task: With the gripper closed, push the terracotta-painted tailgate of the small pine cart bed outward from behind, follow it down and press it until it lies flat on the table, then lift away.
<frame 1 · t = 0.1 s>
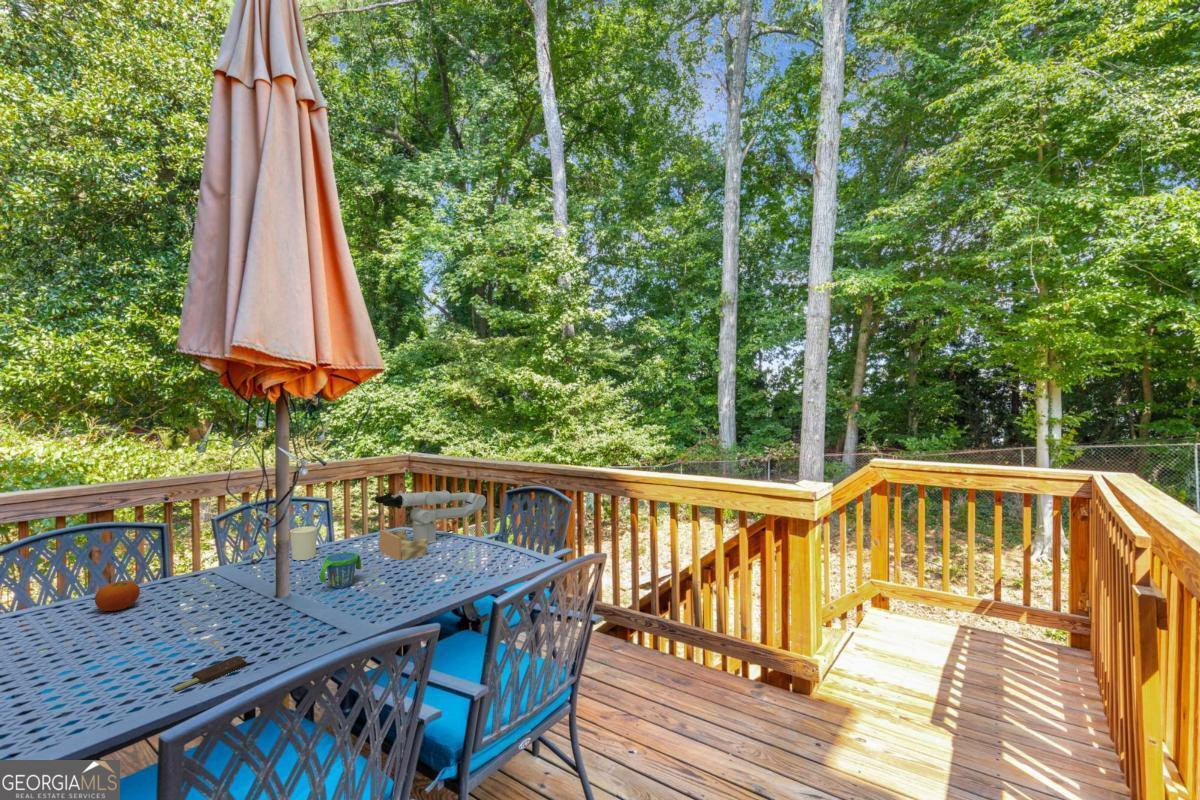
hand: (379, 501, 225), 22 cm above the table, tool horizontal, fingers open, 7 cm apart
cart bed: (404, 552, 224), on the table
snack cup: (341, 585, 186), on the table
candle holder: (303, 558, 215), on the table
fruit: (117, 609, 164), on the table
tailgate: (390, 544, 220), point 5 cm above the table, hinge at 0.0°
ice cream bar: (210, 678, 126), on the table
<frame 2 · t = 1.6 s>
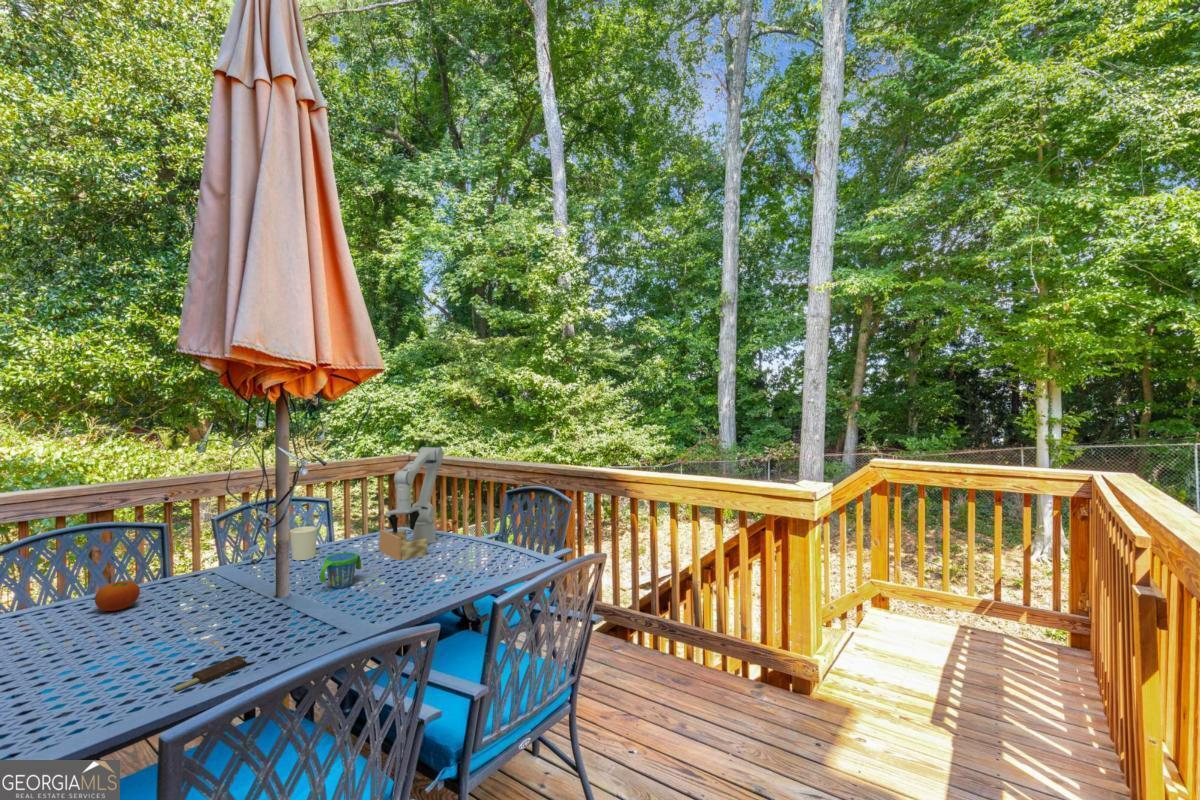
hand: (403, 530, 224), 9 cm above the table, tool pointing down, fingers open, 7 cm apart
nothing on the table moved.
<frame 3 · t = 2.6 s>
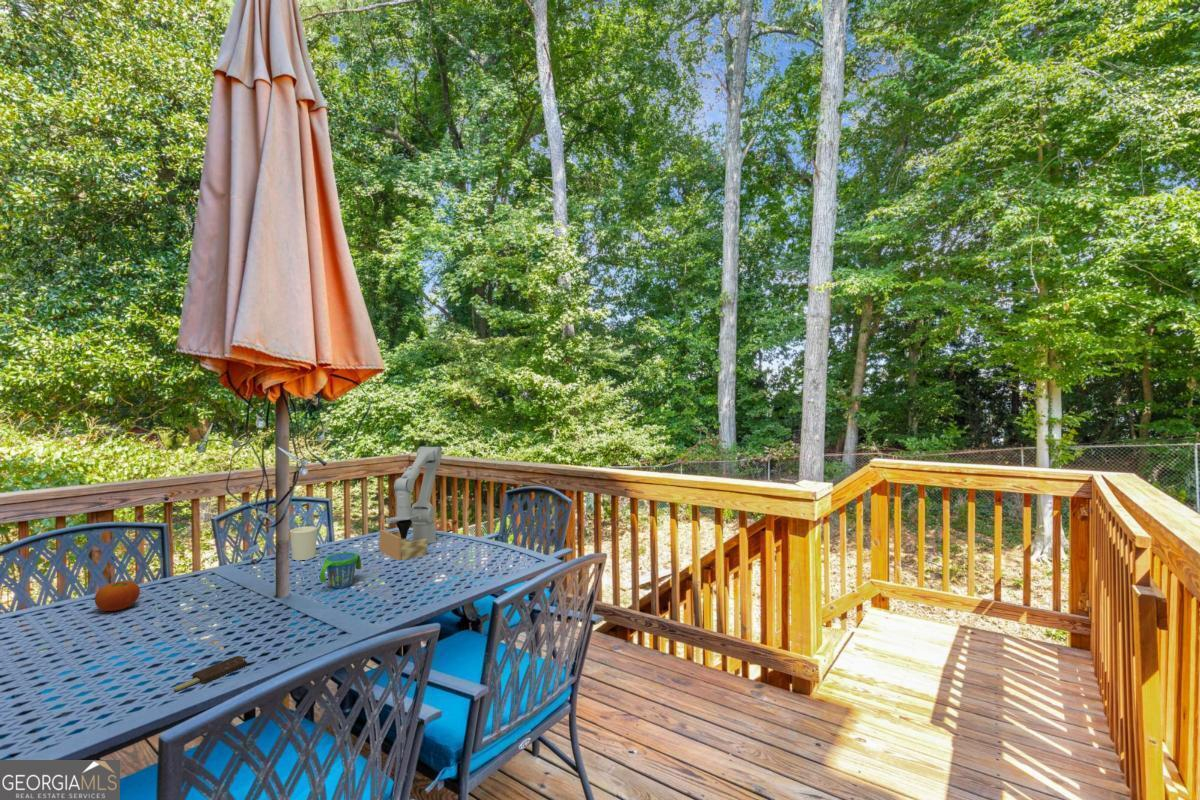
hand: (403, 538, 224), 6 cm above the table, tool pointing down, fingers closed
nothing on the table moved.
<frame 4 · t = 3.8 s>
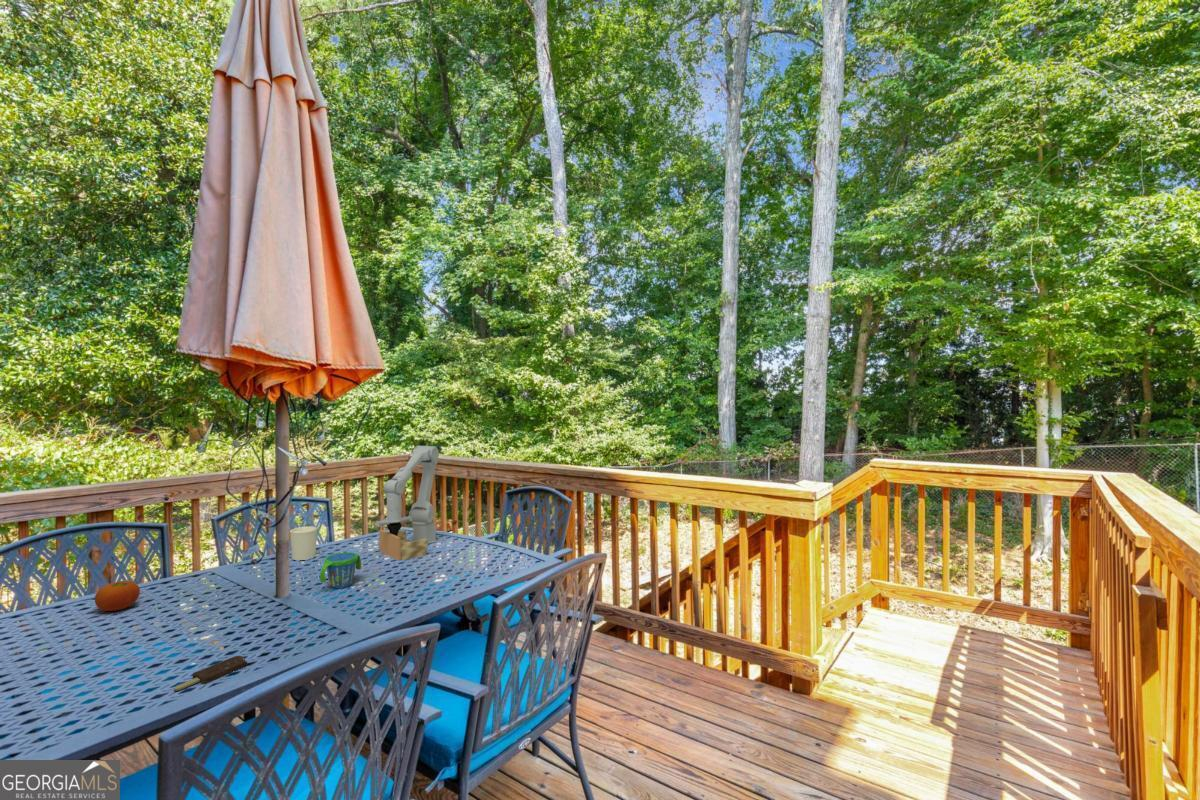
hand: (393, 540, 221), 6 cm above the table, tool pointing down, fingers closed
tailgate: (389, 544, 220), point 5 cm above the table, hinge at 0.9°, touching gripper
everything else where it was.
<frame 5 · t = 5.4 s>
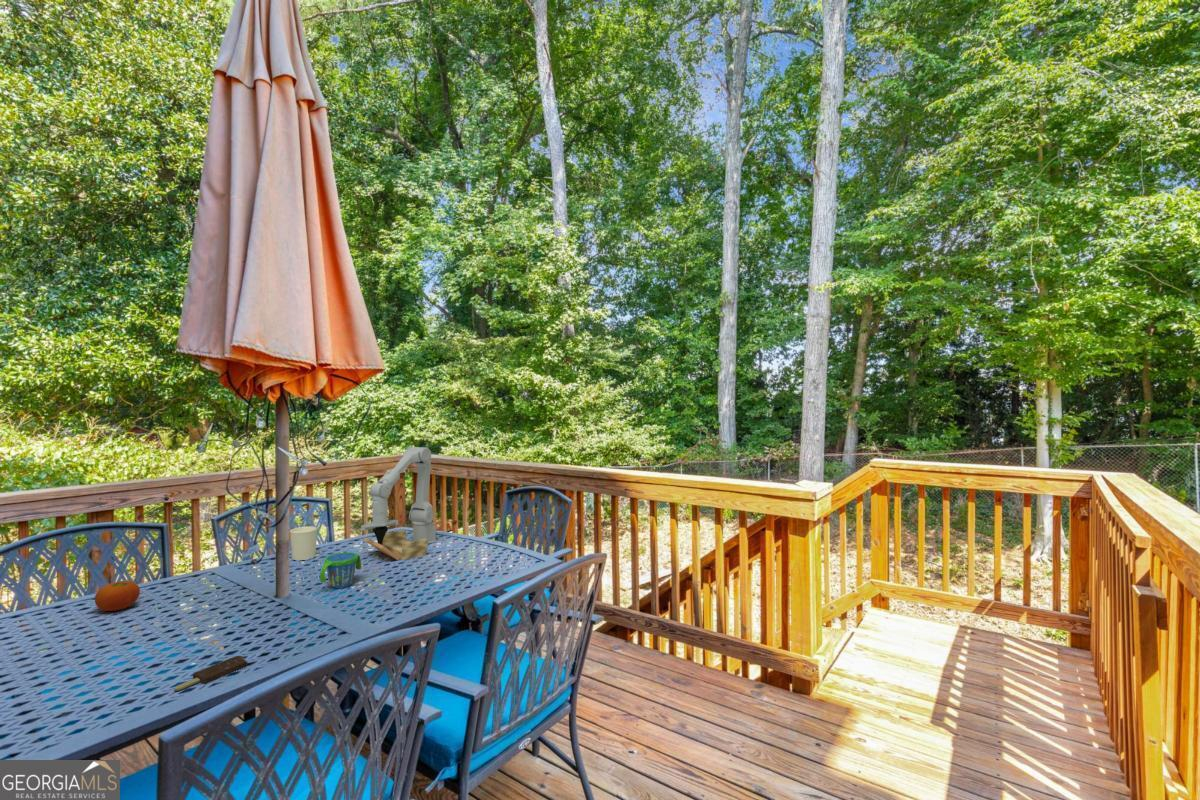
hand: (379, 545, 217), 5 cm above the table, tool pointing down, fingers closed, pressing on tailgate
tailgate: (381, 548, 217), point 4 cm above the table, hinge at 47.4°, touching gripper
everything else where it was.
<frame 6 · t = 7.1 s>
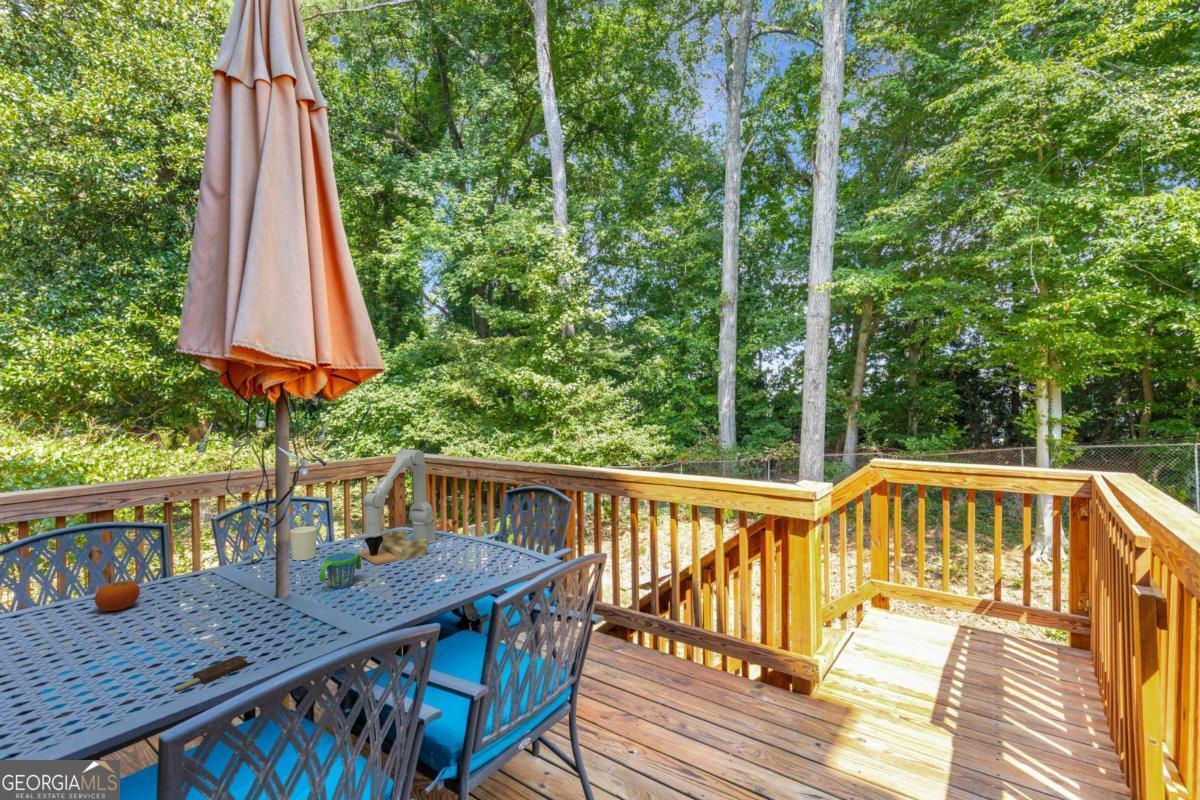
hand: (373, 555, 215), 2 cm above the table, tool pointing down, fingers closed, pressing on tailgate
tailgate: (377, 555, 216), point 1 cm above the table, hinge at 87.4°, touching gripper
everything else where it was.
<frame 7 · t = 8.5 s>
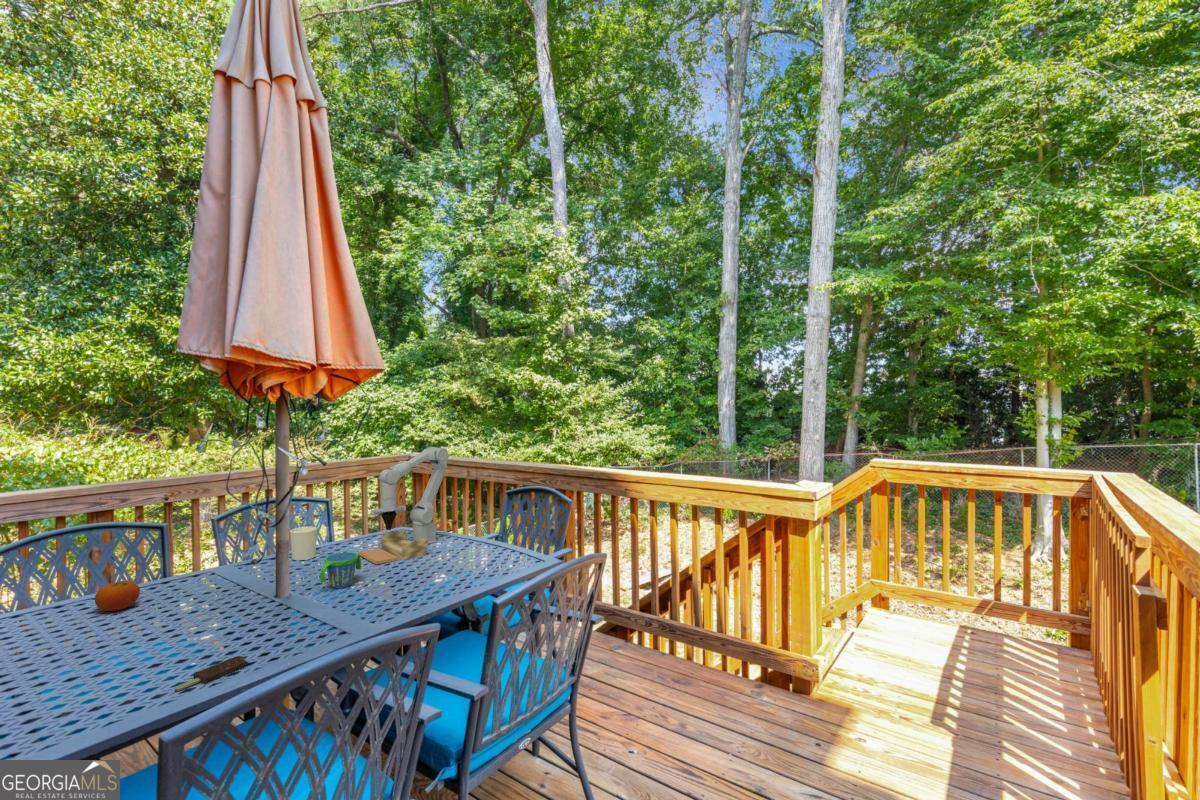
hand: (388, 529, 226), 9 cm above the table, tool pointing down, fingers closed
tailgate: (377, 555, 216), point 1 cm above the table, hinge at 87.4°
everything else where it was.
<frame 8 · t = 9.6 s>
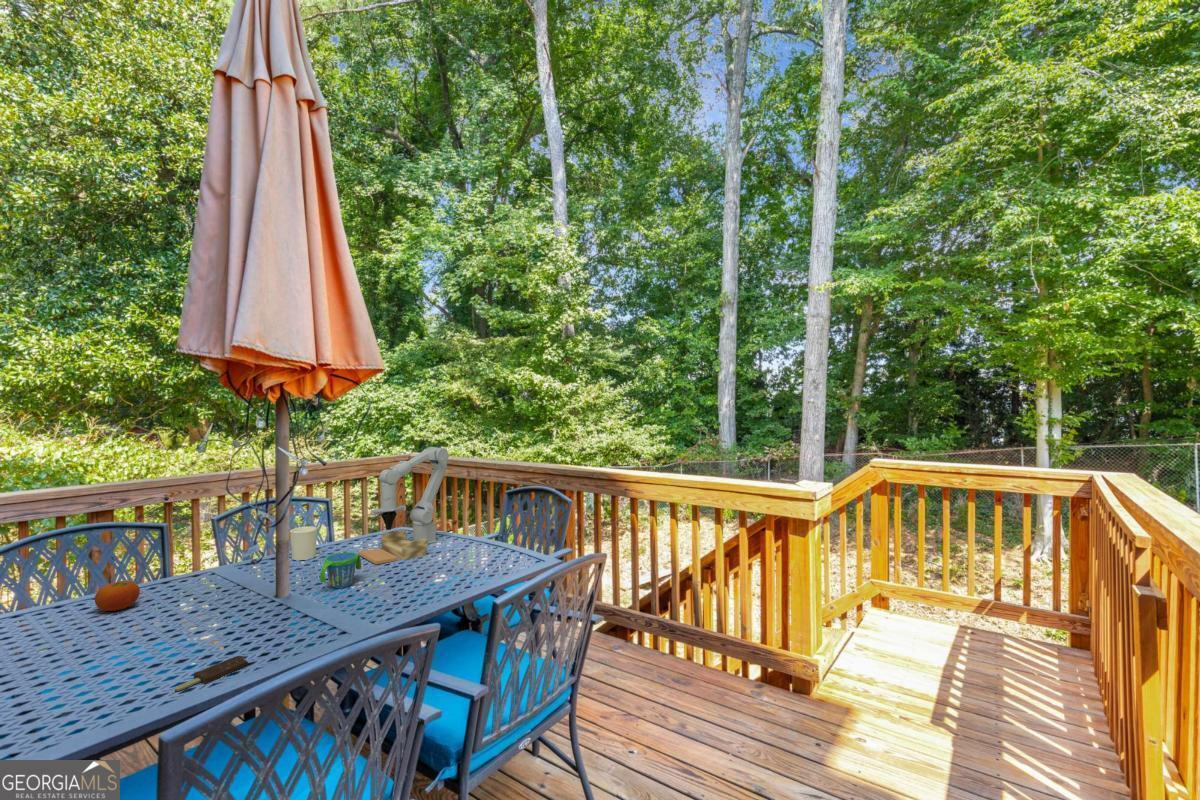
hand: (388, 529, 226), 9 cm above the table, tool pointing down, fingers closed
nothing on the table moved.
at the end: tailgate at +87° (first picture: +0°) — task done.
